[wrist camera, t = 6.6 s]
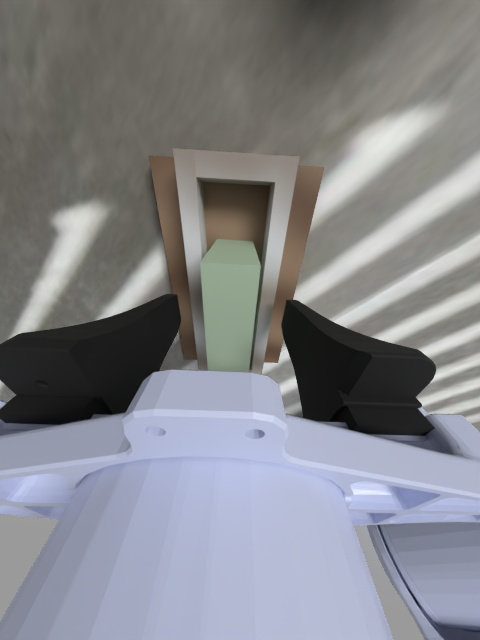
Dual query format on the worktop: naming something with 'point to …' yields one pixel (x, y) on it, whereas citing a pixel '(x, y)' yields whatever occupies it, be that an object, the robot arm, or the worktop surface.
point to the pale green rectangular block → (229, 303)
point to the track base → (234, 233)
